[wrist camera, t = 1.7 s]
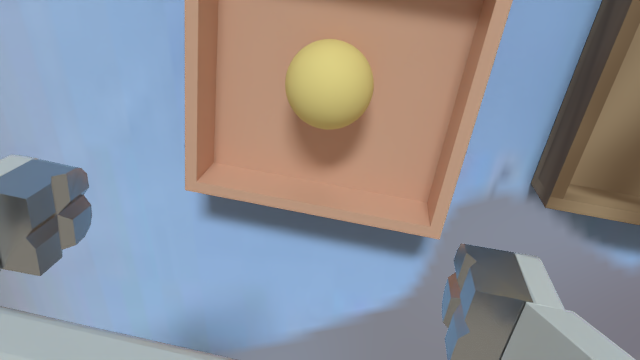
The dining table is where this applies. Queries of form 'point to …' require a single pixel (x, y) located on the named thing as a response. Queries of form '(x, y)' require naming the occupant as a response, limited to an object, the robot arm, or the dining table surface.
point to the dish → (350, 141)
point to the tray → (599, 125)
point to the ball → (329, 84)
